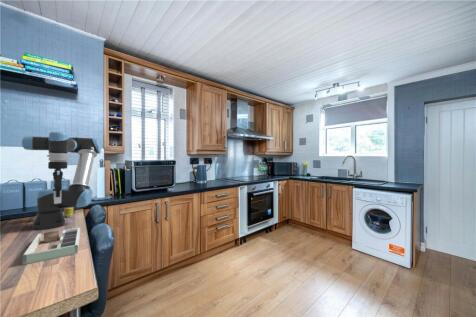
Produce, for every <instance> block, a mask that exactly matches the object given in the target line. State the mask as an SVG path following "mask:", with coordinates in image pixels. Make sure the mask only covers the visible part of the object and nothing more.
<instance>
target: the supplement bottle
mask: <svg viewBox="0 0 476 317" xmlns="http://www.w3.org/2000/svg"><path fill="white" fill-rule="evenodd" d="M74 210H75V207H74V208H63V215H64V217H69V218H73V217H74ZM72 216H73V217H72Z"/></svg>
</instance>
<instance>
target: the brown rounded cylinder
mask: <svg viewBox="0 0 476 317" xmlns="http://www.w3.org/2000/svg"><path fill="white" fill-rule="evenodd" d="M59 236H60V233H59V231H57V230H55V231H48V232H45V233H43V243H44V244H50V243H51V244H52V243H55V242H58V241H60V237H59Z"/></svg>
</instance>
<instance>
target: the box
mask: <svg viewBox="0 0 476 317" xmlns="http://www.w3.org/2000/svg"><path fill="white" fill-rule="evenodd" d="M61 233H62V234H61V236H60V237H59V243H57V246H56V248H52V249H46V250H41V251H35V250H36V249H37V247H38V246H39V244H40V243H41V240H42V233H38V234H37V235H36V237H35V238H34V239H33V241H32V242H31V243H30V244H29V246H28V248H27V249H26V250H25V252H24V253H23V255H22V265H23V266H24V265H28V264H33V262H34V263H38V262H43V261H49V260H51V259H57V258H62V256H63V257H67V256H71V255H70V254H72V255H76V254H75V253H77V254H78V252H79V245H80V244H79V243H80V235H81V227H75V228H69V229H63V230H62V232H61ZM66 255H67V256H66Z"/></svg>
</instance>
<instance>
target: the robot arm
mask: <svg viewBox="0 0 476 317" xmlns="http://www.w3.org/2000/svg"><path fill="white" fill-rule="evenodd" d="M21 146H22V148H23V149H24V150H26V151H48V154H47V155H46V157H48V163H47V164H48V166H47V167H48V169H49V170H53V172H52V178H53V188H48V189H41V190H39V191H38V192H37V197H36V200H37V201H36V203H37V205H36V216H35V218H34V220H33V223H32V224H31V228H32V229H33V230H47V229H53V228H54V229H55V228H57V227H62V226H64V225H65V224H66V221H67V220H66V218H65V217H64V212H63V209H64V208H74V209H75V208H81V207H82V208H84V207H87V206H88V205H90V203H91V201H92V198H93V190H92V189H91V187H90V186H89V182H90V178H91V173H92V168H93V164H94V159H95V158H97V156H98V155H99V154H101V152H102V147H101V146H102V145H101V142H100V139H99V138H95V137H94V138H93V137H92V138H91V137H73V136H72V137H69V135H68V133H66V132H62V131H61V132H60V131H50V132H49V133H48V136H33V135H31V136H30V135H29V136H24V137H23V138H22V140H21ZM69 153H73V154H77V155H79V157H78V160H77V165H76V168H75V173H74V177H73V181H72V184H69V186H68V188H67V189H64V187H63V185H62V184H63V182H62V180H63V176H64V172H63V171H62V170H64V169H65V170H66V169H68V160H69V159H68V158H69V157H68V155H69Z"/></svg>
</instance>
